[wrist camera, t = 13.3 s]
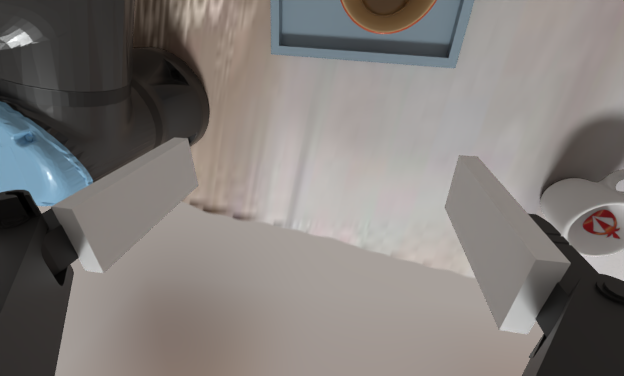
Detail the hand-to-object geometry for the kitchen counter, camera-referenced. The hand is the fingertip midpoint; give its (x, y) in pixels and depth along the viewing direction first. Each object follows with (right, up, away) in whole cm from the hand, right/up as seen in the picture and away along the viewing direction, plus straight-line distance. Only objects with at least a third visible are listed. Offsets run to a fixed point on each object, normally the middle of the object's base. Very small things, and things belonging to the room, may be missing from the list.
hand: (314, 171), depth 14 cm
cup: (+36, -1, +25) cm, 43 cm away
